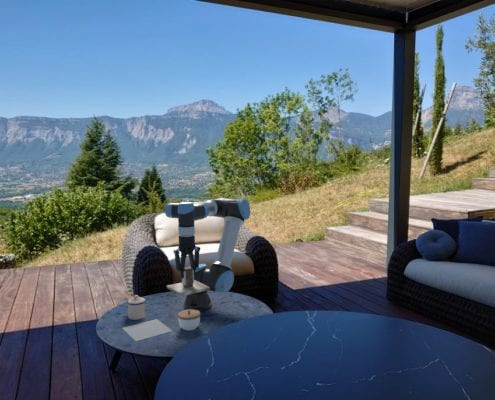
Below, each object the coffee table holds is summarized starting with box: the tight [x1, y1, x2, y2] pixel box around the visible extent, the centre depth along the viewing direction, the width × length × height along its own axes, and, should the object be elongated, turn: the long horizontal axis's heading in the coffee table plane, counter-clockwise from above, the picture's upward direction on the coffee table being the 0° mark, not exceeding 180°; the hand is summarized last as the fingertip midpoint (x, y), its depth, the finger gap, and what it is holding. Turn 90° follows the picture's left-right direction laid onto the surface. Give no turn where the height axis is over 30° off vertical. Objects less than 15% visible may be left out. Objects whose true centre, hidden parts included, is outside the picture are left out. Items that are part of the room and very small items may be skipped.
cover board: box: [166, 266, 210, 297], centre depth 194 cm, size 15×15×10 cm
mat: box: [121, 318, 173, 342], centre depth 196 cm, size 18×18×1 cm
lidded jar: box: [177, 309, 201, 332], centre depth 196 cm, size 11×11×9 cm
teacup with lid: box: [126, 294, 147, 321], centre depth 212 cm, size 12×9×12 cm
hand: (188, 283), depth 195 cm, fingers closed on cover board, 3 cm apart
